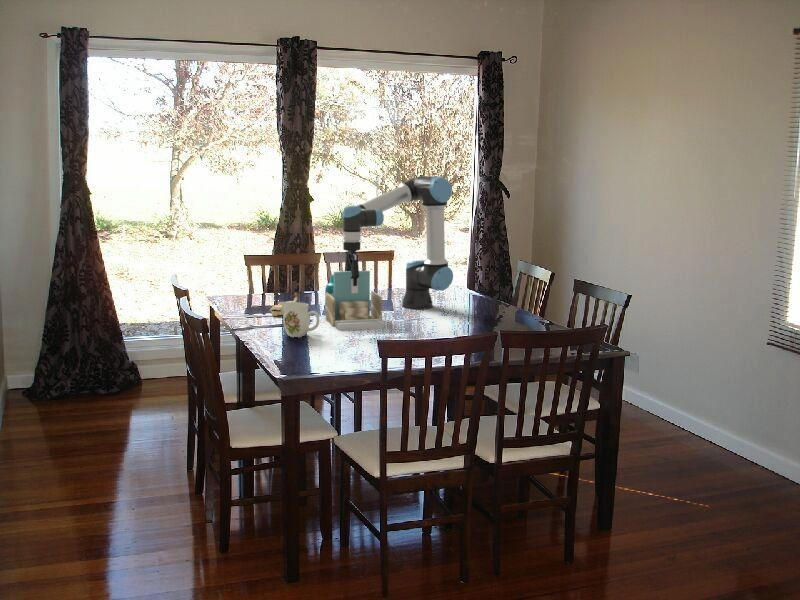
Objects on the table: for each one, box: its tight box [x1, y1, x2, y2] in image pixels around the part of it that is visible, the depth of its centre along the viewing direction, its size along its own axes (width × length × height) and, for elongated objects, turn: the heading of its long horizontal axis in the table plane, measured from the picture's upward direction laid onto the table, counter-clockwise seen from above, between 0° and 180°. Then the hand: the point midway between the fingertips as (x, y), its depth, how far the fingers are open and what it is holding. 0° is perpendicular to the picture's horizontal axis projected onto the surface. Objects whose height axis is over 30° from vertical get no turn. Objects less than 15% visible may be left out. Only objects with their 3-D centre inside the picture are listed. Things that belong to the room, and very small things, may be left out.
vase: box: [324, 273, 334, 307], centre depth 372 cm, size 11×11×19 cm
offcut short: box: [344, 307, 368, 320], centre depth 350 cm, size 10×2×7 cm, turn 107°
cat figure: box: [269, 292, 299, 317], centre depth 380 cm, size 10×9×25 cm
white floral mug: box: [277, 301, 321, 338], centre depth 331 cm, size 11×18×14 cm, turn 77°
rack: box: [325, 290, 383, 327], centre depth 354 cm, size 22×15×14 cm
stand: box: [334, 319, 385, 331], centre depth 344 cm, size 20×8×4 cm, turn 107°
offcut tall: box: [339, 301, 370, 320], centre depth 353 cm, size 13×2×9 cm, turn 107°
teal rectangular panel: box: [333, 270, 371, 319], centre depth 356 cm, size 16×2×22 cm, turn 107°
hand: (351, 290), depth 355 cm, fingers open, 10 cm apart
